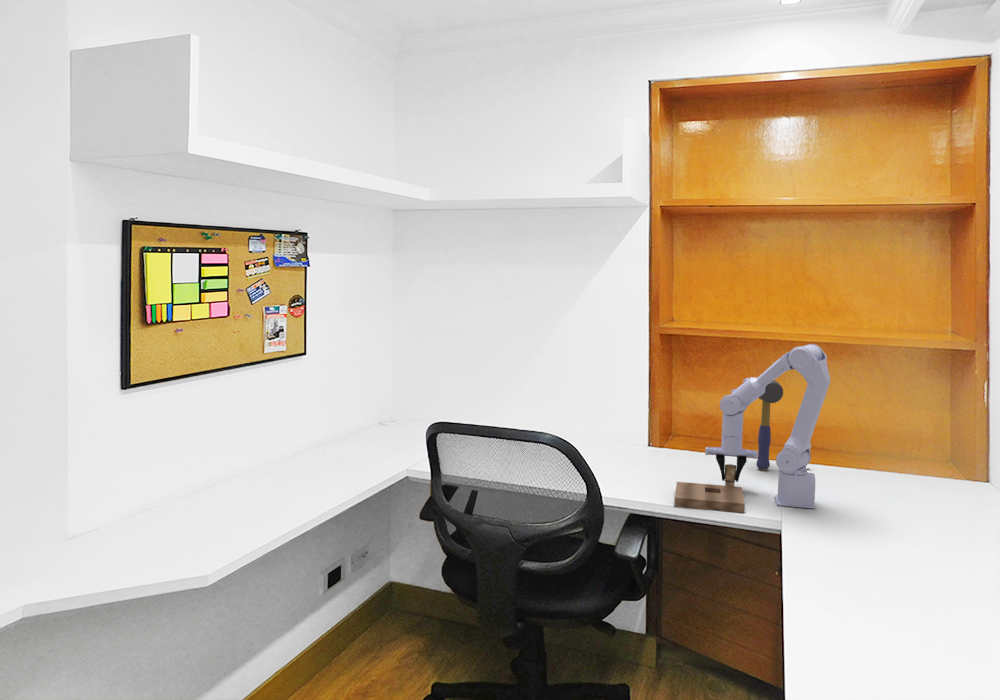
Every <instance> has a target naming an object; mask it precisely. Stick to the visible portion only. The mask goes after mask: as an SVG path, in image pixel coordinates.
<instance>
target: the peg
mask: <svg viewBox="0 0 1000 700" xmlns="http://www.w3.org/2000/svg"><path fill="white" fill-rule="evenodd" d="M736 469H737V464H732V463H728V464H725V467H724V474H725V480H724V483H725V484H724V486H734V487H735V483H736Z"/></svg>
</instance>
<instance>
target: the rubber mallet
mask: <svg viewBox="0 0 1000 700" xmlns="http://www.w3.org/2000/svg"><path fill="white" fill-rule="evenodd" d="M758 377H759V376H757V377H756V378H758ZM783 396H784V388H783V386H782V385H781V384H780V383H779V382H778V381H776V379H775V380H773V381H772V382H771V383H769V384H768V385H766V387H765V393H764V394H763V395H761V396H760V397H759V398H758V399H759V400H761V401H762V402H761V421H760V422H761V423H760V426H759V430H758V436H757V443H758V449H757V451H758V459H756V467H757V469H758V470H760V471H768V469H769V468H770V466H771V465H770V446H771V442H772V441H771V439H772V434H771V433H772V432H771V424H770V423H771V422H770V421H771V404H776V403H778V402H779V401H781V399H782V398H783Z"/></svg>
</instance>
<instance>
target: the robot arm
mask: <svg viewBox="0 0 1000 700" xmlns="http://www.w3.org/2000/svg"><path fill="white" fill-rule="evenodd" d="M793 370H795V371H797V372H798V373H799V374H800V375H801V376H803V378H804V380H805V382H806V383H807V385H806V388H805V391H804V394H803V398H802V400H801V402H800V406H799V409H798V412H797V415H796V418H795V420H794V421H795V422H794V424H793V427H792V429H791V433H790V436H789V437H788V439H787V440H786V442H785V443H784V446H783V448H782V450H781V451H780V452H779V453H778V454H777V455H776V459H775V462H776V466H777V467H778V478H777V479H778V481H777V483H778V484H777V494H775V495H774V500H775V502H776V505H777V506H781V507H793V508H794V507H795V508H802V509H803V508H804V509H815V499H816V476H815V473H814V472H808V469H807V465H809V464H810V462H811V458H812V457H811V455H812V454H811V448H812V443H811V439H812V437H813V434H814V431H815V427H816V424H817V422H818V419H819V417H820V413H821V412H822V411H821V410H822V408H823V404H824V402H825V399H826V396H827V393H828V390H829V387H830V384H831V377H830V372H829V367H828V356H827V354H826V353H825V351H824V350H823V349H822V348H821V347H820V346H819V345H817V344H815V343H809V344H806V345H803V346H801V345H800V346H795V347H793V348H792V349H791V350H790V351H788V352H787V353H784V354H783V355H781V357H779V358H778V359H777V360H776V361H775V362H773V363H772V365H770V366H769V367H768V368H766V369H765V370H764V371H763V372H762V373H761V374H760V375H759V376H757V377H758V378H757V377H754V376H751V377H746V378H744V379H743V380H742V382H743V383H742V384H741V385H739V386H738V387H737V388H734V389H732V390H731V394H727V395H724V396H723V397H722V398H721V399H720V401H719V408H720V411H721V413H722V423H721V444H720V445H721V446H719V447H718V446H716V447H710V446H706V447H705V451H704V452H705V456H715V459H716V463H717V464H718V467H719V470H720V474H721V481H722V482H725V465H726V464H725V463H726V457H733V458H734V457H736V480H735V483H736V482H737V483H739V479H740V476H741V472H742V470H743V468H744V466H745V465H746V463H747V461H748V460H747V458H749V459H754V460H758V450H751V449H746V448H743V433H744V432H743V431H744V430H743V429H744V427H743V426H744V412H745V411H746V410H747V408H748V406H750V405H751V404H752V403H753V402H755V401H756V400H757V399H759V397H760V396H761V395H763V394H764V393H765V387H766V385H768V384H769V383H771V382H772V381H773V380H775V381H776V379H778V378H779V377H780V376H781V375H783V374H784V373H786V372H787V371H793Z"/></svg>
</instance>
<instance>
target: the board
mask: <svg viewBox="0 0 1000 700" xmlns="http://www.w3.org/2000/svg"><path fill="white" fill-rule="evenodd" d="M744 498H745V497H744V493H743V488H742V487H741V486H735V485H734V486H725V485H722V484H721V485H720V484H708V483H707V484H706V483H698V482H686V481H685V482H684V481H676V485H675V493H674V507H675V508H676V507H677V508H687V509H698V510H699V509H700V510H710V511H720V512H729V513H730V512H731V513H739V512H741V514H743V513H745V499H744ZM742 512H743V513H742Z"/></svg>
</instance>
